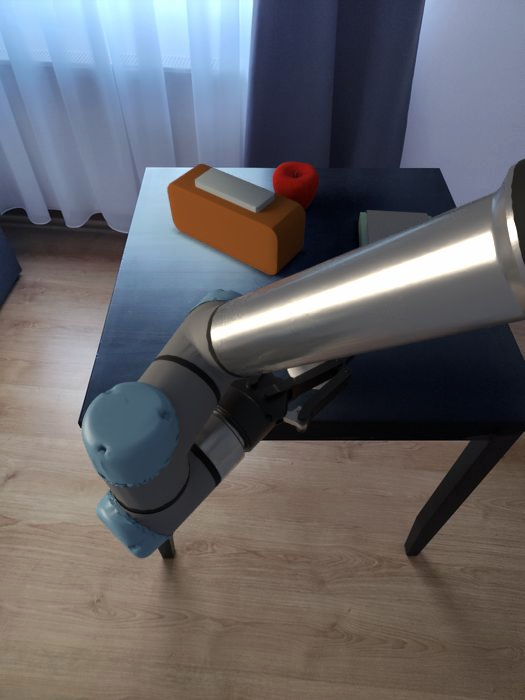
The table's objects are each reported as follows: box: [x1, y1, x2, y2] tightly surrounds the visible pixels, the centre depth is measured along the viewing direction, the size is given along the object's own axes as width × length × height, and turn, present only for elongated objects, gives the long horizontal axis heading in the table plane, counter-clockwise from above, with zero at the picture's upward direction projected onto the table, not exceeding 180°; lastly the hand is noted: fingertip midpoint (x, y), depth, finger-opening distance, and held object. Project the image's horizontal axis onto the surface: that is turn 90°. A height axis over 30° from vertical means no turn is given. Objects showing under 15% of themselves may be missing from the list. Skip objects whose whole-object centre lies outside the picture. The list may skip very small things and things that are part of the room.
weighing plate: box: [365, 209, 429, 244], centre depth 85 cm, size 10×11×1 cm
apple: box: [272, 161, 320, 211], centre depth 92 cm, size 9×9×8 cm
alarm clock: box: [166, 163, 307, 276], centre depth 83 cm, size 24×8×11 cm, turn 54°
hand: (340, 316), depth 65 cm, fingers closed on beverage can, 6 cm apart
